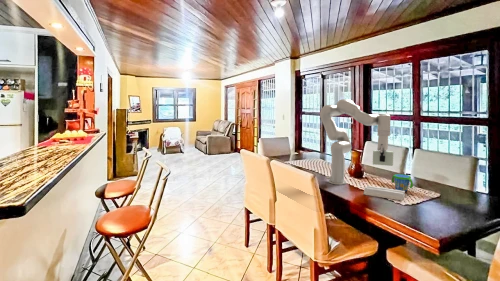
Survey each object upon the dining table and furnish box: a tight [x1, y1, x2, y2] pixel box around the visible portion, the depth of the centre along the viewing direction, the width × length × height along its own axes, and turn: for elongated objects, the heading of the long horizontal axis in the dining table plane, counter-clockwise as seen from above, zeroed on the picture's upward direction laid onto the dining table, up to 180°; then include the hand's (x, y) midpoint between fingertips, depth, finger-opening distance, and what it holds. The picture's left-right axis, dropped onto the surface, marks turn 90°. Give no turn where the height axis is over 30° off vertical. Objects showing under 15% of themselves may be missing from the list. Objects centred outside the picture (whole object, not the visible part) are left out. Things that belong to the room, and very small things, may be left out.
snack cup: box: [390, 173, 414, 192], centre depth 207 cm, size 16×10×10 cm
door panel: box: [372, 150, 394, 167], centre depth 198 cm, size 12×3×9 cm, turn 56°
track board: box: [363, 185, 406, 201], centre depth 194 cm, size 23×10×4 cm, turn 55°
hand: (382, 160), depth 199 cm, fingers closed on door panel, 3 cm apart
